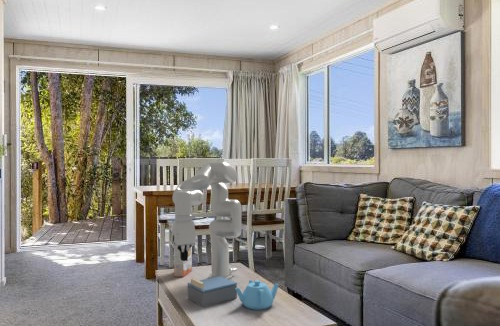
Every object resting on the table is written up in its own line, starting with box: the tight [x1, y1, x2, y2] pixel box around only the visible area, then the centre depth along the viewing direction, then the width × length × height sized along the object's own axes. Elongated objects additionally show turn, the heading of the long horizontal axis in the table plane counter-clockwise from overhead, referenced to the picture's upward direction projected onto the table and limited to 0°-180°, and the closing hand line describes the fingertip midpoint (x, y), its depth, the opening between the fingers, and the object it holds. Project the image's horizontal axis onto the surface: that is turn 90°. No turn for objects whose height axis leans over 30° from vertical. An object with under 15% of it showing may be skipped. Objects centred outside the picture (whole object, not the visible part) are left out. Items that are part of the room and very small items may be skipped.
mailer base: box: [187, 284, 238, 308], centre depth 193 cm, size 18×14×6 cm
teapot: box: [235, 279, 280, 311], centre depth 183 cm, size 15×15×11 cm
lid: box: [187, 276, 238, 292], centre depth 193 cm, size 18×14×3 cm
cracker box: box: [173, 246, 193, 278], centre depth 235 cm, size 14×6×21 cm, turn 168°
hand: (184, 260), depth 184 cm, fingers closed
